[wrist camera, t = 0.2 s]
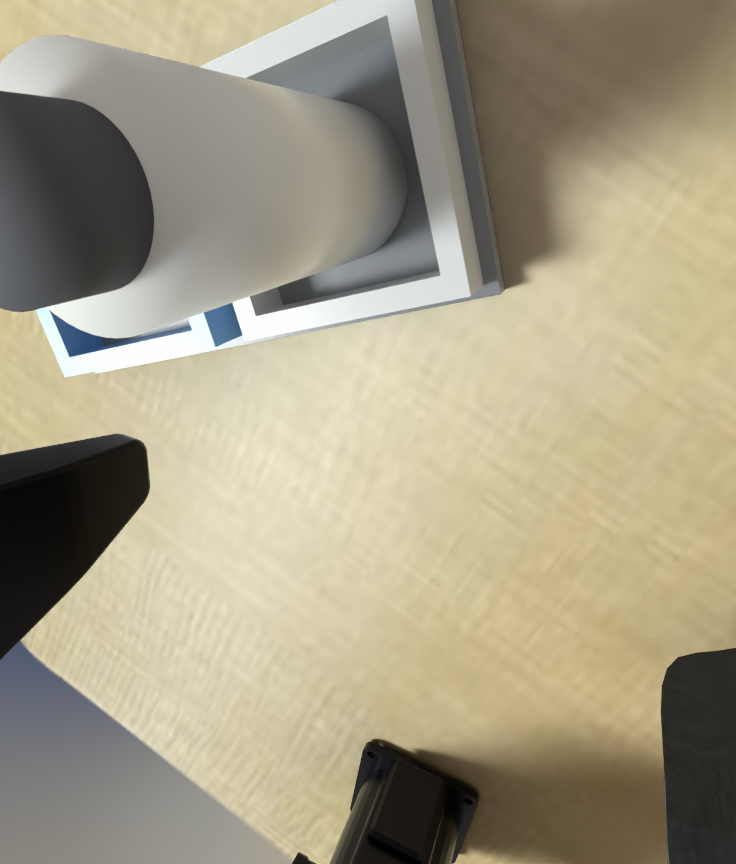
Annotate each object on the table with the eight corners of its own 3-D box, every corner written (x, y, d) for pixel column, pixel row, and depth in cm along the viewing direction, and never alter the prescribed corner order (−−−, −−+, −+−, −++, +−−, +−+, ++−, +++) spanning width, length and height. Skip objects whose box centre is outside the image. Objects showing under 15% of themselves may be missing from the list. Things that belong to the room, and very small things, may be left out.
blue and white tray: (450, -29, 17) (422, -61, 15) (504, 289, 20) (489, 306, 17) (25, 166, 25) (-36, 165, 23) (107, 368, 28) (60, 387, 26)
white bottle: (394, 274, 20) (128, 399, 9) (270, 245, 22) (-90, 325, 11) (420, 113, 18) (106, 27, 7) (279, 92, 19) (-169, -7, 8)
